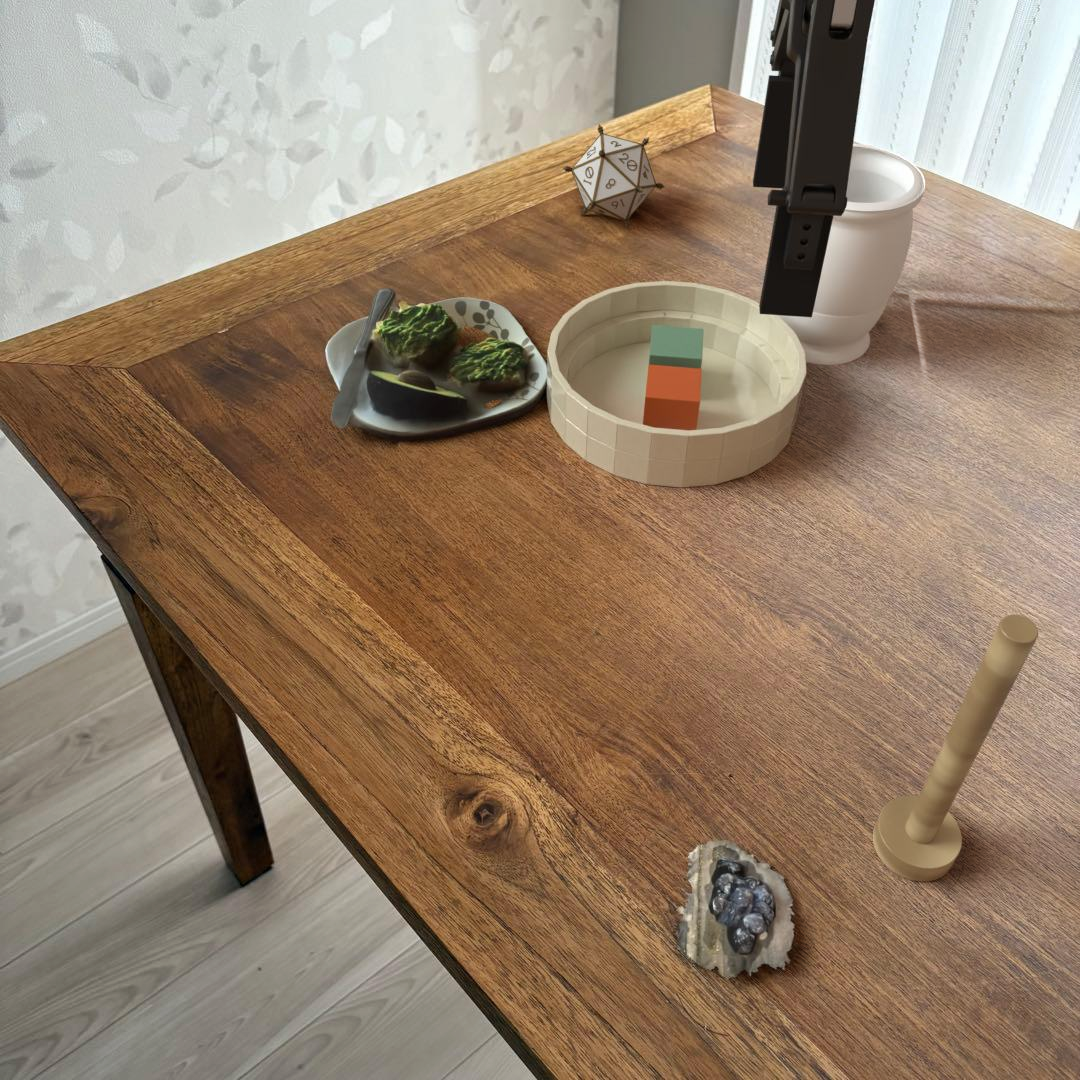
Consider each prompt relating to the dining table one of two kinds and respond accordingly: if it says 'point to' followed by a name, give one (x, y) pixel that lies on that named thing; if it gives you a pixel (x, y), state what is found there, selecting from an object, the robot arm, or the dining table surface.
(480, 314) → the salad plate
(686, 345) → the sage block
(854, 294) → the jar
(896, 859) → the stand
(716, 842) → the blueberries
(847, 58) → the robot arm
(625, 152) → the game die
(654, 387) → the rust block
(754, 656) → the dining table surface
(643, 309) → the bowl
